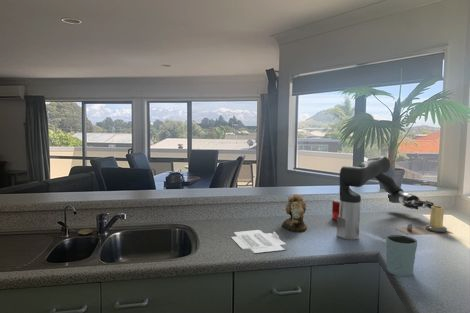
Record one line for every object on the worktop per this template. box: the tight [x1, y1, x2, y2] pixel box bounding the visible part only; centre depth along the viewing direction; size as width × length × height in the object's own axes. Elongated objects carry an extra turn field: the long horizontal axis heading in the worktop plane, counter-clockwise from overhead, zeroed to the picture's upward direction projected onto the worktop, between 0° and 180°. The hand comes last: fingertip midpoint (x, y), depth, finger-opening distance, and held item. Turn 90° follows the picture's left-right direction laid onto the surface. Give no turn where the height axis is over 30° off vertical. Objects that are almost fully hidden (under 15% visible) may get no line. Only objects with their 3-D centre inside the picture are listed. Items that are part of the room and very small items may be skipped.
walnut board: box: [394, 222, 454, 236], centre depth 166 cm, size 24×11×5 cm, turn 97°
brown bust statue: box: [281, 193, 308, 233], centre depth 174 cm, size 18×12×17 cm, turn 8°
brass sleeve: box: [429, 205, 445, 229], centre depth 167 cm, size 5×5×10 cm
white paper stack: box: [230, 229, 287, 254], centre depth 153 cm, size 20×28×4 cm
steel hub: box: [424, 223, 448, 233], centre depth 167 cm, size 9×9×6 cm
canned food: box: [331, 198, 340, 222], centre depth 189 cm, size 8×8×11 cm
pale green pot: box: [385, 234, 418, 277], centre depth 123 cm, size 10×10×12 cm
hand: (425, 207), depth 176 cm, fingers open, 8 cm apart
